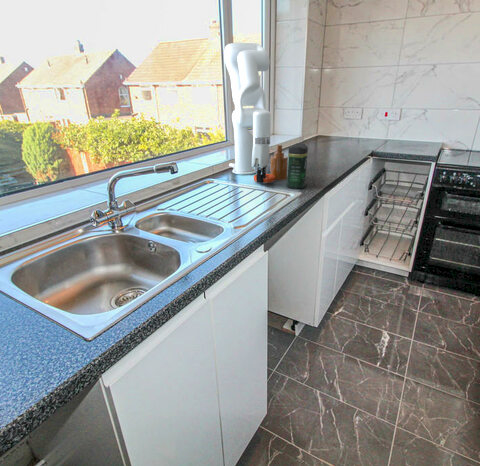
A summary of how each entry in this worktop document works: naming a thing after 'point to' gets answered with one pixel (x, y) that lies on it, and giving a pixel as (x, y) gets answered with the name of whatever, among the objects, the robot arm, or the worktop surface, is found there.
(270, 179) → the bung
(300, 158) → the coffee jar
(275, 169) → the bottle
